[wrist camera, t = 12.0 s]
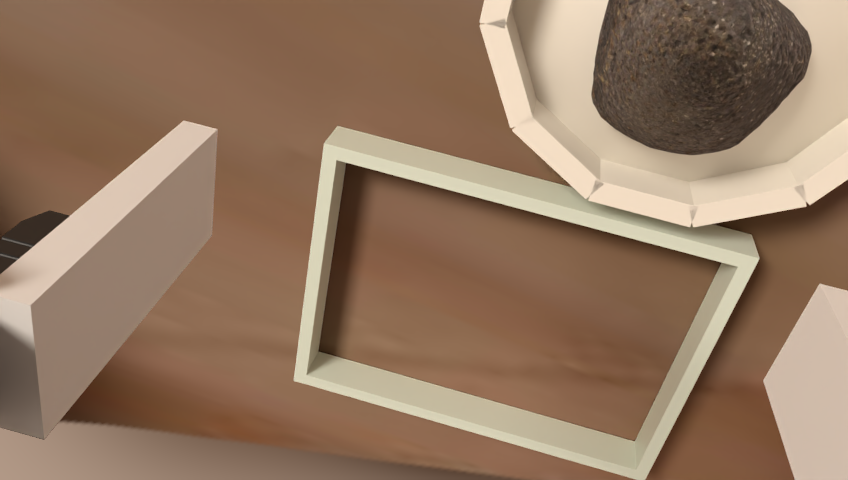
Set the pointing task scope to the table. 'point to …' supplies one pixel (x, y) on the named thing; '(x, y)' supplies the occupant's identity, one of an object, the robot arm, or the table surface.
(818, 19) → the bowl
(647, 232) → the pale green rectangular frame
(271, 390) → the table surface
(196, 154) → the robot arm
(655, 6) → the stone
